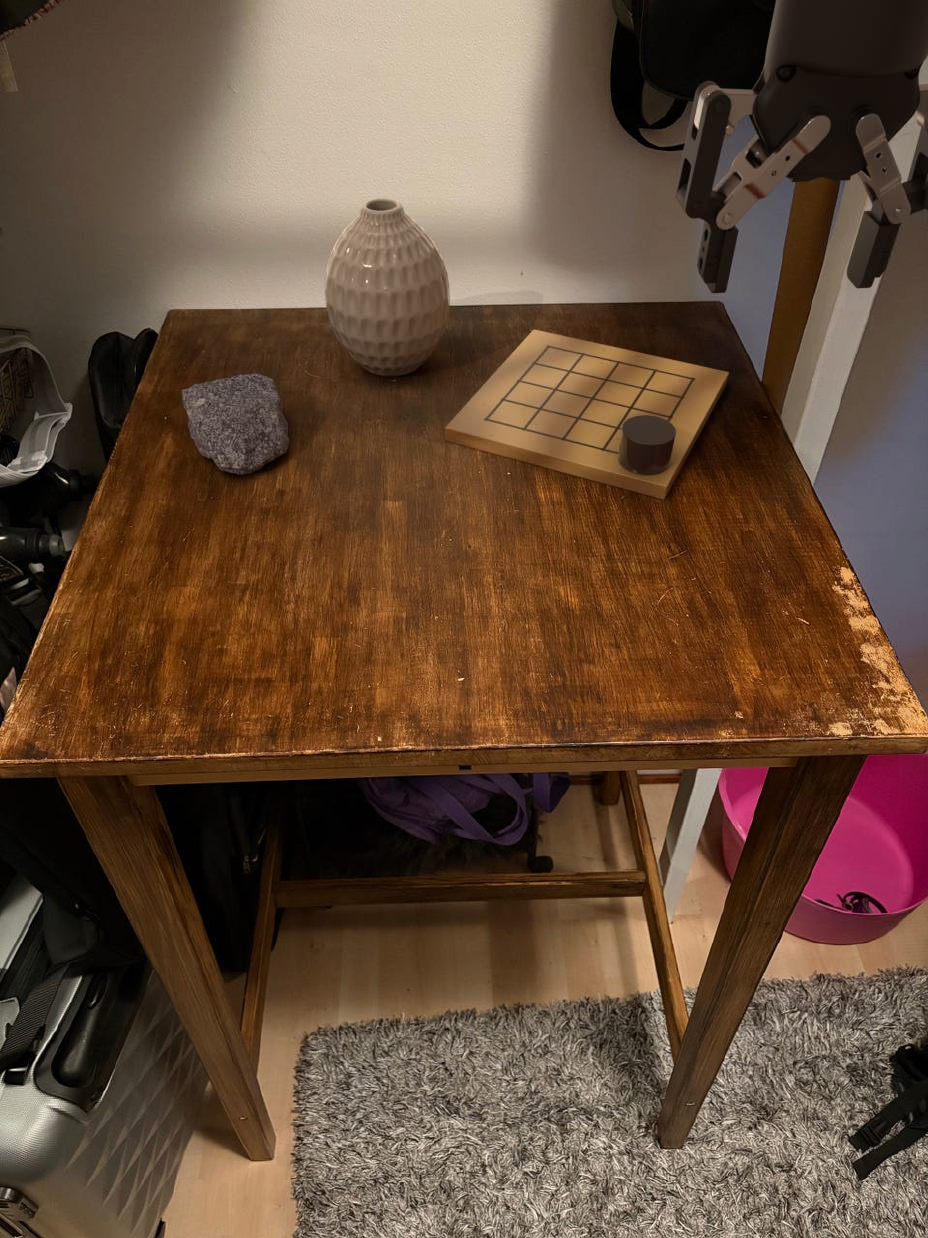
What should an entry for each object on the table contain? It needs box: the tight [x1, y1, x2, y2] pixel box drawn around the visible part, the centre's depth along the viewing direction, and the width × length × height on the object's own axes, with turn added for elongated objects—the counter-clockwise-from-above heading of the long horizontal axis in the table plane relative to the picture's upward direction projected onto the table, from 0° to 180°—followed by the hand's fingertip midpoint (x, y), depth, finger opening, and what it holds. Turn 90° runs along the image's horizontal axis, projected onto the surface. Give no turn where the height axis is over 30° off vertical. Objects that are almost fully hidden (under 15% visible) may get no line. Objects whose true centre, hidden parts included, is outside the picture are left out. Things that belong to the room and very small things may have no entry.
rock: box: [181, 373, 290, 476], centre depth 86 cm, size 12×5×10 cm
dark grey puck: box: [618, 415, 676, 475], centre depth 82 cm, size 5×5×3 cm
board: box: [444, 329, 730, 501], centre depth 91 cm, size 22×22×2 cm
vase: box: [324, 197, 451, 378], centre depth 93 cm, size 13×13×17 cm
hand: (786, 285), depth 53 cm, fingers open, 8 cm apart
